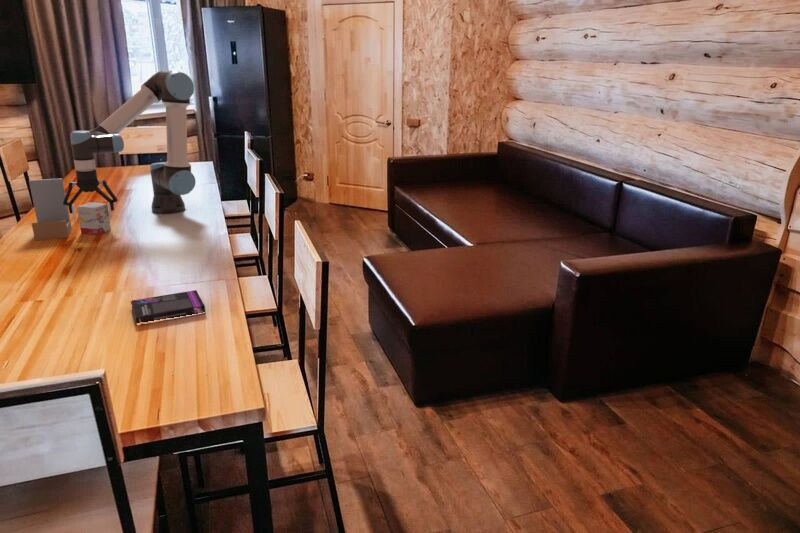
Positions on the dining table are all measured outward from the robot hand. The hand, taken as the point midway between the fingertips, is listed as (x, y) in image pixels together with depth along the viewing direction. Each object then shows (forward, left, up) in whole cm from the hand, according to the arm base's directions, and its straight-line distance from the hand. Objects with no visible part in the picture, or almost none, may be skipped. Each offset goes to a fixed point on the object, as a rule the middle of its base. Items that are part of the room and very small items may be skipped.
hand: (93, 219), depth 245 cm
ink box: (0, 0, -6) cm, 6 cm away
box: (-25, +94, -6) cm, 98 cm away
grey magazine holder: (+16, -1, -5) cm, 17 cm away
